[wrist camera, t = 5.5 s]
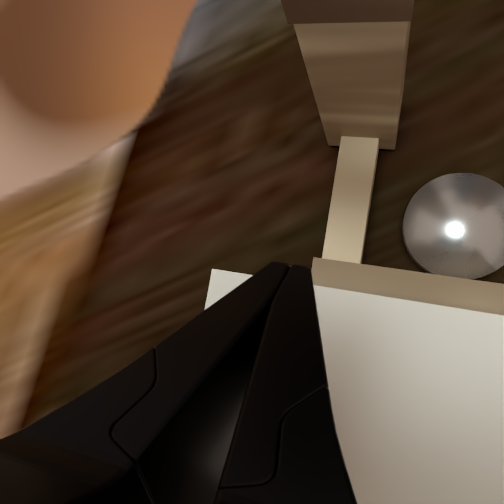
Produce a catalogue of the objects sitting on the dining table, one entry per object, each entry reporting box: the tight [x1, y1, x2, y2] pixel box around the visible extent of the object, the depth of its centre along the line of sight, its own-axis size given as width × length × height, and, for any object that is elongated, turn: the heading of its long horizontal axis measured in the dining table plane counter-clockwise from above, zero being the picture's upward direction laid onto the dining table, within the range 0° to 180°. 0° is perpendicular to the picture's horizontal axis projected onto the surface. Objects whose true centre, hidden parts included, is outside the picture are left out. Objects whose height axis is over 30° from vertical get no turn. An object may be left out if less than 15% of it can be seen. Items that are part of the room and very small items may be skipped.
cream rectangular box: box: [205, 269, 504, 504], centre depth 16 cm, size 8×14×4 cm, turn 80°
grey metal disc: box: [402, 173, 504, 280], centre depth 18 cm, size 4×4×1 cm
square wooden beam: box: [281, 0, 504, 316], centre depth 12 cm, size 9×9×15 cm
